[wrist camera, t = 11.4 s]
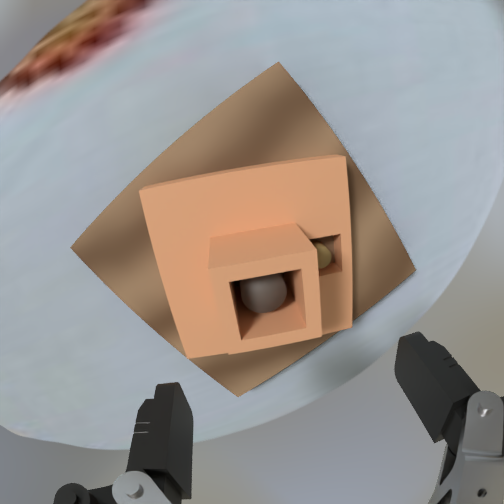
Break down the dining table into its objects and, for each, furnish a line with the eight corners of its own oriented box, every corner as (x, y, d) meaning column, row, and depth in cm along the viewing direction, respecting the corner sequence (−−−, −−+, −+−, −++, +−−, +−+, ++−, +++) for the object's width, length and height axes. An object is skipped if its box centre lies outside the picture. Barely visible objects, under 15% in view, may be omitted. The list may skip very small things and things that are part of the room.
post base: (81, 238, 21) (40, 275, 15) (273, 67, 18) (295, 41, 12) (236, 381, 27) (242, 437, 21) (403, 260, 24) (448, 296, 18)
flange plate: (188, 346, 23) (183, 404, 17) (144, 186, 18) (114, 209, 13) (345, 316, 23) (376, 366, 18) (336, 154, 19) (381, 165, 13)
